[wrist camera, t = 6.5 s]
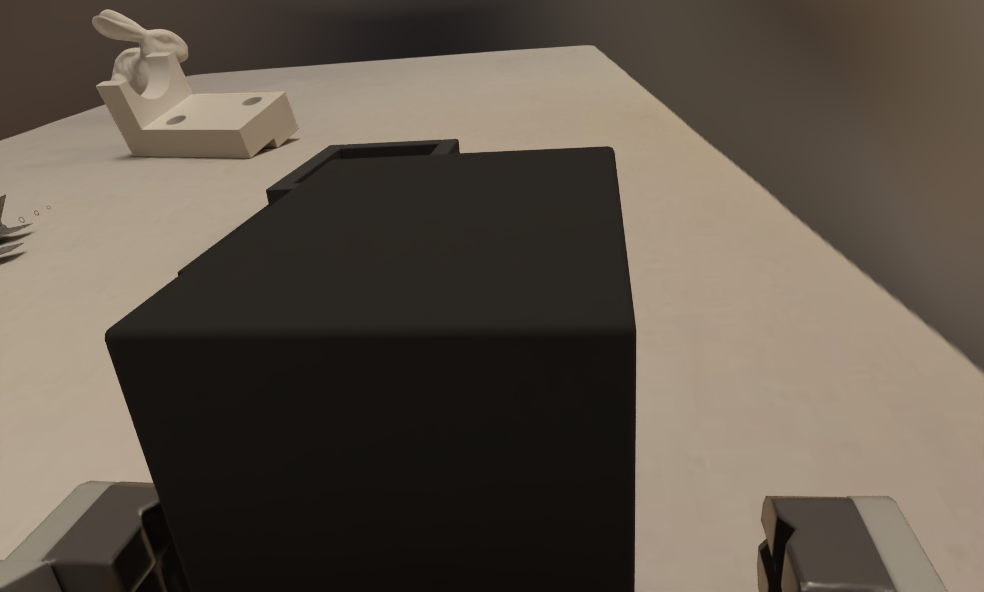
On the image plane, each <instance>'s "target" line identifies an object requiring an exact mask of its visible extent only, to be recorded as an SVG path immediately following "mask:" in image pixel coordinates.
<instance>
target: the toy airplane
mask: <svg viewBox="0 0 984 592" xmlns="http://www.w3.org/2000/svg"><path fill="white" fill-rule="evenodd" d="M5 197H6V195H4V196H1V197H0V236H2V235H6V234H9V233H12V232H16V231H18V230H20V229H22V228H25V227H27V226H29V225H31V224H27V225H22V226H17V227H13V228H7V227H6V226H5V225H2V222H1V217H2V212H3V207H4V202H5ZM47 209H48V208H47ZM50 209H51V207H50ZM37 212H38V211H37ZM34 214H35V211H34ZM35 215H36V214H35ZM38 215H39V212H38ZM20 218H23V217H19V221H20ZM23 219H24V218H23ZM20 222H21V221H20ZM24 222H25V220H24V221H23V222H21V223H24ZM32 224H33V223H32ZM22 244H23V243H20V244H16V245H11V246H6V247H2V248H0V255H1V254H4V253H7V252H10V251H12V250H13V249H15V248H17V247H18V246H20V245H22Z"/></svg>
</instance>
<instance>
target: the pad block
mask: <svg viewBox="0 0 984 592" xmlns="http://www.w3.org/2000/svg"><path fill="white" fill-rule="evenodd" d="M105 342H106V345H107V348H108V351H109V354H110V357H111V360H112V362H113V365H114V368H115V371H116V374H117V377H118V380H119V383H120V386H121V389H122V392H123V395H124V398H125V401H126V404H127V406H128V409H129V412H130V415H131V418H132V421H133V424H134V427H135V430H136V433H137V436H138V439H139V442H140V445H141V448H142V450H143V453H144V456H145V459H146V462H147V465H148V468H149V471H150V474H151V477H152V480H153V483H154V486H155V489H156V492H157V494H158V497H159V500H160V503H161V506H162V509H163V512H164V515H165V518H166V521H167V524H168V527H169V530H170V533H171V535H172V538H173V541H174V544H175V547H176V550H177V553H178V556H179V559H180V562H181V565H182V568H183V571H184V574H185V577H186V579H187V582H188V585H189V588H190V591H191V592H634V581H635V440H636V325H635V317H634V308H633V300H632V292H631V284H630V276H629V268H628V259H627V251H626V243H625V235H624V227H623V218H622V210H621V202H620V194H619V186H618V178H617V169H616V161H615V153H614V150H613V148H611V147H608V146H607V147H586V148H565V149H544V150H523V151H502V152H481V153H460V154H439V155H418V156H397V157H376V158H355V159H334V160H331V161H330V162H328V163H327V164H326V165H324V166H323V167H322V168H320V169H319V170H318V171H316V172H315V173H314V174H312V175H311V176H310V177H308V178H307V179H306V180H305V181H303V182H302V183H301V184H299V185H298V186H297V187H295V188H294V189H293V190H291V191H290V192H289V193H287V194H286V195H285V196H283V197H282V198H281V199H279V200H278V201H277V202H275V203H274V204H273V205H272V206H270V207H269V208H268V209H266V210H265V211H264V212H262V213H261V214H260V215H258V216H257V217H256V218H254V219H253V220H252V221H250V222H249V223H248V224H246V225H245V226H244V227H242V228H241V229H240V230H239V231H237V232H236V233H235V234H233V235H232V236H231V237H229V238H228V239H227V240H225V241H224V242H223V243H221V244H220V245H219V246H217V247H216V248H215V249H213V250H212V251H211V252H209V253H208V254H207V255H206V256H204V257H203V258H202V259H200V260H199V261H198V262H196V263H195V264H194V265H192V266H191V267H190V268H188V269H187V270H186V271H184V272H183V273H182V274H180V275H179V276H178V277H176V278H175V279H174V280H173V281H171V282H170V283H169V284H167V285H166V286H165V287H163V288H162V289H161V290H159V291H158V292H157V293H155V294H154V295H153V296H151V297H150V298H149V299H147V300H146V301H145V302H143V303H142V304H141V305H140V306H138V307H137V308H136V309H134V310H133V311H132V312H130V313H129V314H128V315H126V316H125V317H124V318H122V319H121V320H120V321H118V322H117V323H116V324H114V325H113V326H112V327H110V328H109V329H108V330H107V331H106V333H105Z"/></svg>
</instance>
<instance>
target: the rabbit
mask: <svg viewBox="0 0 984 592" xmlns="http://www.w3.org/2000/svg"><path fill="white" fill-rule="evenodd" d="M92 24H93V26H94V27H95V29H96V30H97V31H98V32H100V33H101V34H103V35H105V36H107V37H109V38H112V39H118V40H128V41H135V42H139V43H140V48H131V49H127V50H125V51H123V52H122V53H121V54H120V55H119V56H118V57H117V58H116V61H115V66H114V69H113V73H112V76H113V77H112V78H111V81H125V80H127V82H128V84H129V85H130V87H131V88H132V89H133V90H134V91H135V92H136V93H137V94H139V95H140V96H141V95H142V94H143V93H144V91H145V90H146V88H147V85H148V81H149V69H148V64H147V61H146V58H145V56H147V55H149V54H151V53H157V52H174V53H175V55H176V58H177V60H178V62H179V63H180V62H183V61H185V60H186V59H187V57H188V52H187V50H188V47H187V45H186V43H185V42H184V41H183V40H182V39H181V38H180V37H179V36H177V35H176V34H175V33H173V32H171V31H168V30H163V29H155V30H145V29H144V28H142V27H141V26H139V25H138V24H137V23H135V22H134V21H132V20H130V19H129V18H127V17H125V16H123V15H121V14H120V13H117V12H115V11H112V10H104V11H103V12H101V13H100V16H95V17H93V20H92Z"/></svg>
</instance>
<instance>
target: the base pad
mask: <svg viewBox="0 0 984 592" xmlns="http://www.w3.org/2000/svg"><path fill="white" fill-rule="evenodd" d="M439 154H460V151H459V141H458V139H448V140H427V141H407V142H387V143H368V144H348V145H330V146H328V147H327V148H325V149H324V150H323V151H321V152H320V153H318V154H317V155H315V156H314V157H313V158H311V159H310V160H308V161H307V162H305V163H304V164H302V165H301V166H300V167H298V168H297V169H295V170H294V171H292V172H291V173H290V174H288V175H287V176H285V177H284V178H282V179H281V180H280V181H278V182H277V183H275V184H274V185H272V186H271V187H269V188H268V189H267V190H266V193H267V197H268V202H269V204H268V205H267V206H266V207H264V208H263V209H262V210H260V211H259V212H258V213H256V214H255V215H253V216H252V217H251V218H249V219H248V220H247V221H245V222H244V223H243V224H241V225H240V226H239V227H237V228H236V229H235V230H233V231H232V232H231V233H229V234H228V235H227V236H225V237H224V238H223V239H221V240H220V241H219V242H217V243H216V244H215V245H213V246H212V247H211V248H209V249H208V250H207V251H205V252H204V253H203V254H201V255H200V256H199V257H197V258H196V259H195V260H193V261H192V262H191V263H189V264H188V265H187V266H185V267H184V268H183V269H181V270H180V271H178V276H179V275H180V274H182V273H183V272H184V271H186V270H187V269H188V268H190V267H191V266H192V265H194V264H195V263H196V262H198V261H199V260H200V259H202V258H203V257H204V256H206V255H207V254H208V253H209V252H211V251H212V250H213V249H215V248H216V247H217V246H219V245H220V244H221V243H223V242H224V241H225V240H227V239H228V238H229V237H231V236H232V235H233V234H235V233H236V232H237V231H239V230H240V229H241V228H242V227H244V226H245V225H246V224H248V223H249V222H250V221H252V220H253V219H254V218H256V217H257V216H258V215H260V214H261V213H262V212H264V211H265V210H266V209H268V208H269V207H270V206H272V205H273V204H274V203H275V202H277V201H278V200H279V199H281V198H282V197H283V196H285V195H286V194H287V193H289V192H290V191H291V190H293V189H294V188H295V187H297V186H298V185H299V184H301V183H302V182H303V181H305V180H306V179H307V178H308V177H310V176H311V175H312V174H314V173H315V172H316V171H318V170H319V169H320V168H322V167H323V166H324V165H326V164H327V163H328V162H330V161H331V160H334V159H355V158H376V157H397V156H418V155H439Z"/></svg>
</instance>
